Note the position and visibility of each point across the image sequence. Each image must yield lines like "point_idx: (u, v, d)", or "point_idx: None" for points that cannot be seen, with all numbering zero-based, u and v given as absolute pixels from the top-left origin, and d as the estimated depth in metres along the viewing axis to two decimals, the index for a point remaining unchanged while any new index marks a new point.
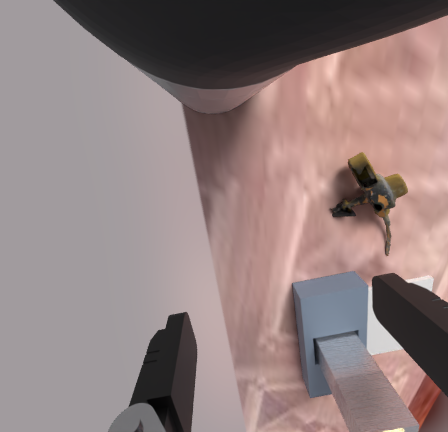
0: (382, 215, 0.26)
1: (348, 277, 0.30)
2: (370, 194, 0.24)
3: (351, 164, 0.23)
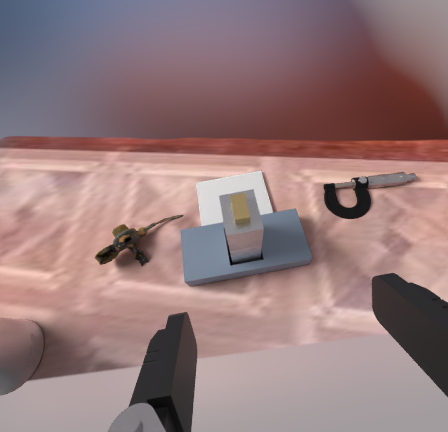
0: (143, 231, 0.39)
1: None
2: (119, 246, 0.37)
3: (100, 263, 0.36)
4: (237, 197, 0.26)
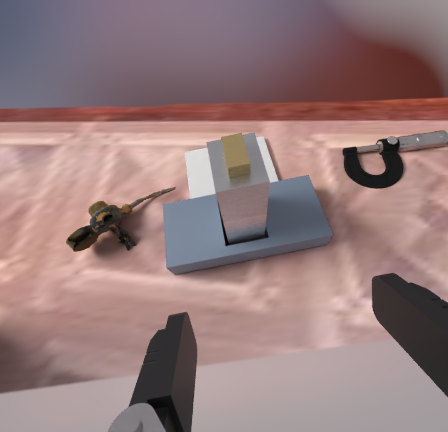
0: (127, 208, 0.31)
1: None
2: (98, 226, 0.29)
3: (73, 249, 0.28)
4: (230, 139, 0.18)
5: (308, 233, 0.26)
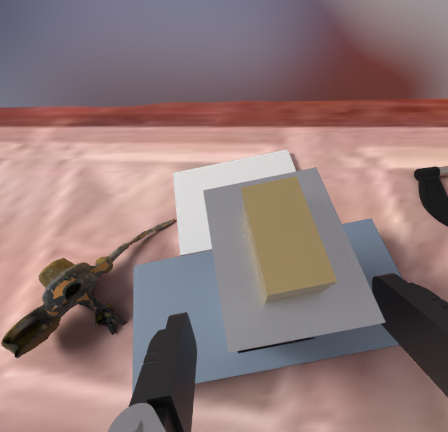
0: (104, 264, 0.20)
1: None
2: (57, 307, 0.17)
3: None
4: (269, 195, 0.07)
5: (386, 333, 0.14)
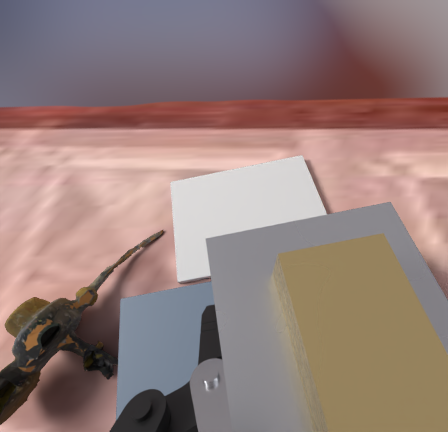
0: (87, 296, 0.16)
1: None
2: (32, 360, 0.14)
3: None
4: (335, 274, 0.03)
5: None
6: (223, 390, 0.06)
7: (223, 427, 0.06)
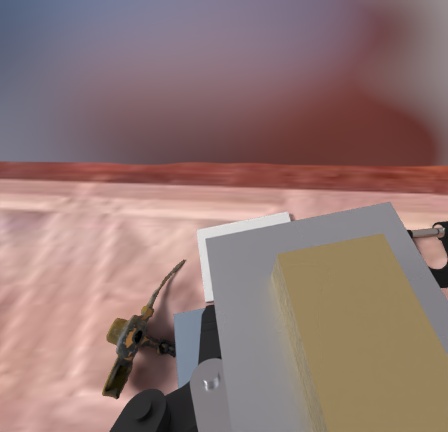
0: (149, 311, 0.26)
1: None
2: (131, 353, 0.23)
3: (116, 398, 0.22)
4: (334, 274, 0.03)
5: None
6: (223, 390, 0.06)
7: (223, 427, 0.06)
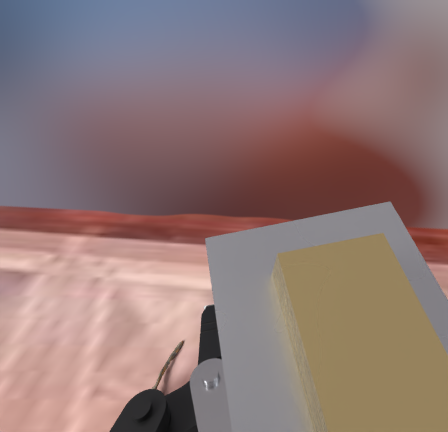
0: None
1: None
2: None
3: None
4: (334, 274, 0.03)
5: None
6: (223, 390, 0.06)
7: (223, 427, 0.06)
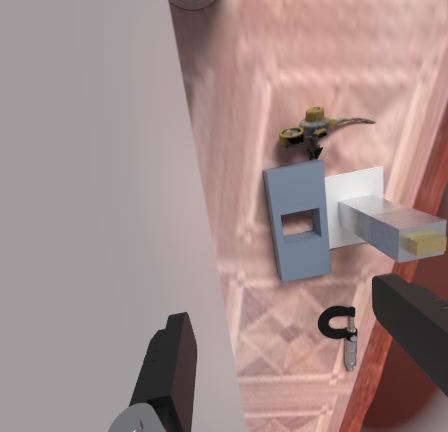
0: (334, 126, 0.33)
1: (309, 161, 0.35)
2: (310, 137, 0.32)
3: (283, 145, 0.33)
4: (441, 243, 0.25)
5: (285, 268, 0.38)
6: None
7: None
